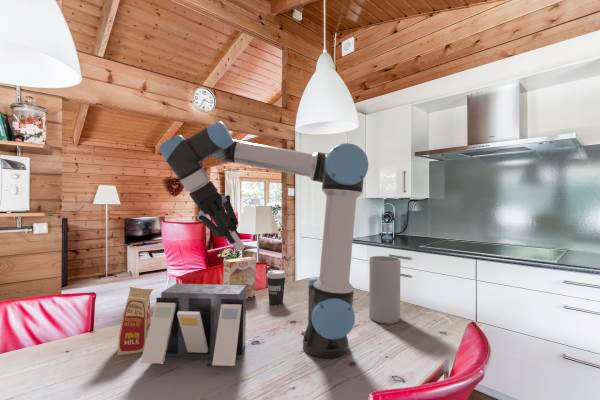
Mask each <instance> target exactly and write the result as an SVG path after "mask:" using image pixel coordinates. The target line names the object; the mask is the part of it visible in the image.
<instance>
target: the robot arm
mask: <svg viewBox="0 0 600 400" xmlns="http://www.w3.org/2000/svg"><path fill="white" fill-rule="evenodd" d="M158 149H159V152H160V153H161V155H162V157H163V158H164V160H165V162H166V163H167V164H168V166H169V167H170V168H171V170H172V171H173V173H174V174H175V176H176V177H177V178H178V180H179V182H180V183H181V184H182V186H183V188H184V189H185V191H186V192H189V197H190V198H191V200H192V201H193V203H195V205H196V206H197V208H198V209H197V210H198V211H199V213H198V215H197V216H195V220H196V221H198V222H199V223H200V222H201V223H202V225H204V226H205V227H206V228H207V229H208V230H210V231H211V232H212V233H213V234H214V235H215V236H216V237H217V238H224V237H225V238H226V241H228V243H229V244H230V245H233V247H234V248H235V249H236V251H238V252H239V251H243V250H244V249H245V248H246V246H245V245H244V244H243V242H242V240H241V239H240V238H241V235H240V234H239V232H238V225H239V221H238V218H237V216H236V214H235V210H234V207H233V206H232V203H231V196H230V195H229V194H227V195H222V194H221V193H219V192H218V189H217V188H216V186H215V184H214V182H212V181H211V180H210V178H211V177H210V176H209V175H208V174H207V171H206V170H205V169H204V168H203V166H202V164H201V162H204V161H205V160H207V159H209V158H210V157H212V158H214V159H215V160H216V161H218V162H221V163H232V164H238V165H245V166H251V167H255V168H261V169H265V170H271V171H276V172H282V173H287V174H293V175H298V176H303V177H308V178H309V179H310V180H311V181H313V182H318V183H322V184H321V185H322V186H321V191H322V192H323V193H324V195H325V197H326V201H325V211H324V220H323V222H324V223H323V234H322V246H321V257H320V264H319V265H320V267H319V276H313V277H311V278H310V279H308V284H307V285H308V286H307V288H308V317H307V319H308V322H307V326H306V329H305V332H304V335H303V338H302V348H303V350H304V352H306V353H307V354H308V355H311V356H313V357H316V358H320V359H322V358H323V359H334V358H339V357H341V356H345V354H347V353H348V352H349V339H348V336H347V335H348V334H350V333H351V331H352V330H353V328H354V326H355V322H356V316H355V311H354V308H353V303H354V291H355V288H354V287H353V285H352V284H351V283H350V275H351V264H352V251H353V240H354V231H355V230H354V229H355V219H356V209H357V206H356V205H357V200H358V198H359V197H361V196H362V195H363V189H364V181H365V177H366V175H367V174H368V170H369V159H368V156H367V153H366V152H365V151H364V150H363V149H362V148H361V147H359V146H358V145H356V144H354V143H348V142H346V143H340V144H338V145H335V146H334V147H332V148H330V150H328V152H320V151H319V152H318V151H317V152H314V153H313V154H312V153H307V152H302V151H297V150H292V149H287V148H286V149H285V148H280V147H277V146H276V147H275V146H270V145H265V144H259V143H254V142H249V141H243V140H237V139H233V137H232V134H231V133H230V131H229V129H228V128H227V127H226V125H225V123H224V122H222V121H217V122H215V123H213V124H209V125H208V126H207V127H205V128H203V129H202V130H200V131H198V132H196V133H195V134H193V135H191V136H189V137H187V138H185V137H183V135H181V134H178V135H175V136H172V137H171V138H169V139H166V140H165V141H164V142H162V143H161V144H160V145H159V148H158ZM207 216H209V218H210V219H209V218H208V217H207ZM211 219H212V220H211Z"/></svg>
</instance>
